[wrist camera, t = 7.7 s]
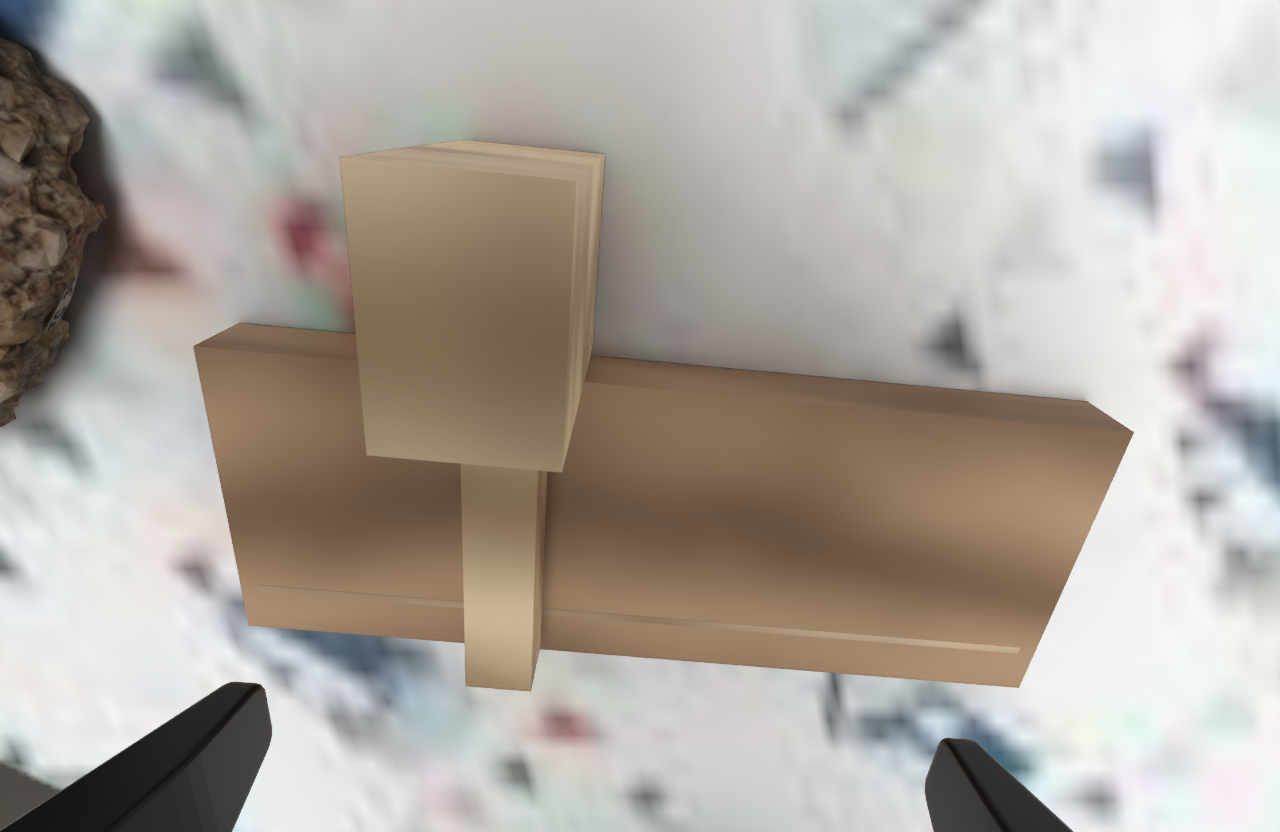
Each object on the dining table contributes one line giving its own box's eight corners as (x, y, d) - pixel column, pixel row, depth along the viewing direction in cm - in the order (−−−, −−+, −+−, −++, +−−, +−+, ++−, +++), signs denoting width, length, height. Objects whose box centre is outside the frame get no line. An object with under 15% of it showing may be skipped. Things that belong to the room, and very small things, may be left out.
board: (988, 641, 23) (1018, 688, 21) (281, 583, 22) (248, 625, 20) (1087, 401, 19) (1133, 432, 17) (238, 322, 18) (193, 346, 16)
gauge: (576, 598, 22) (545, 796, 16) (469, 589, 22) (396, 785, 16) (605, 154, 16) (576, 180, 10) (462, 139, 16) (339, 156, 10)
